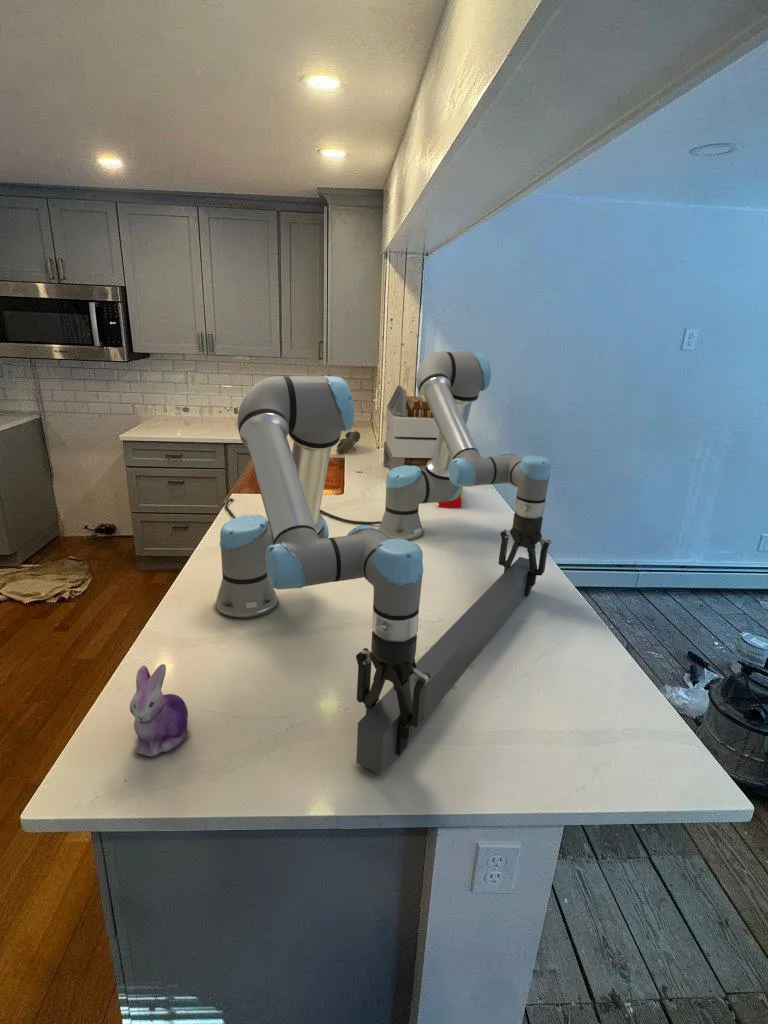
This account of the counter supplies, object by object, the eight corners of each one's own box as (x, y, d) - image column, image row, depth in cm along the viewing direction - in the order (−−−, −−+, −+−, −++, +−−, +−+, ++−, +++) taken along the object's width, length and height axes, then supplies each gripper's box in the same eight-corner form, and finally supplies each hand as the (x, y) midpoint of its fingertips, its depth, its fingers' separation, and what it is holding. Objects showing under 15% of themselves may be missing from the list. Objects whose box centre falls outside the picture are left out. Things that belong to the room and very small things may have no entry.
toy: (455, 465, 253) (467, 475, 224) (454, 495, 256) (465, 508, 227) (428, 465, 253) (437, 474, 224) (427, 494, 256) (435, 507, 226)
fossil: (337, 437, 322) (357, 422, 317) (347, 450, 325) (368, 435, 320) (330, 450, 302) (352, 434, 297) (341, 464, 305) (363, 448, 300)
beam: (515, 583, 165) (519, 556, 162) (532, 588, 163) (536, 561, 160) (356, 763, 98) (357, 722, 95) (380, 775, 96) (382, 734, 93)
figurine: (137, 767, 96) (127, 693, 90) (132, 728, 104) (122, 659, 99) (195, 750, 100) (189, 678, 95) (185, 714, 108) (179, 646, 103)
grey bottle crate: (382, 463, 289) (386, 382, 275) (445, 464, 293) (451, 384, 279) (390, 482, 257) (394, 392, 243) (460, 483, 261) (468, 394, 247)
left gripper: (336, 624, 95) (334, 735, 103) (433, 661, 86) (422, 779, 94) (361, 606, 101) (357, 712, 109) (453, 639, 92) (442, 751, 100)
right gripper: (491, 510, 152) (482, 587, 160) (558, 526, 144) (545, 606, 152) (501, 503, 158) (492, 578, 166) (566, 517, 150) (553, 595, 158)
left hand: (387, 743), depth 102 cm, fingers closed on beam, 5 cm apart
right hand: (517, 591), depth 159 cm, fingers closed on beam, 5 cm apart
